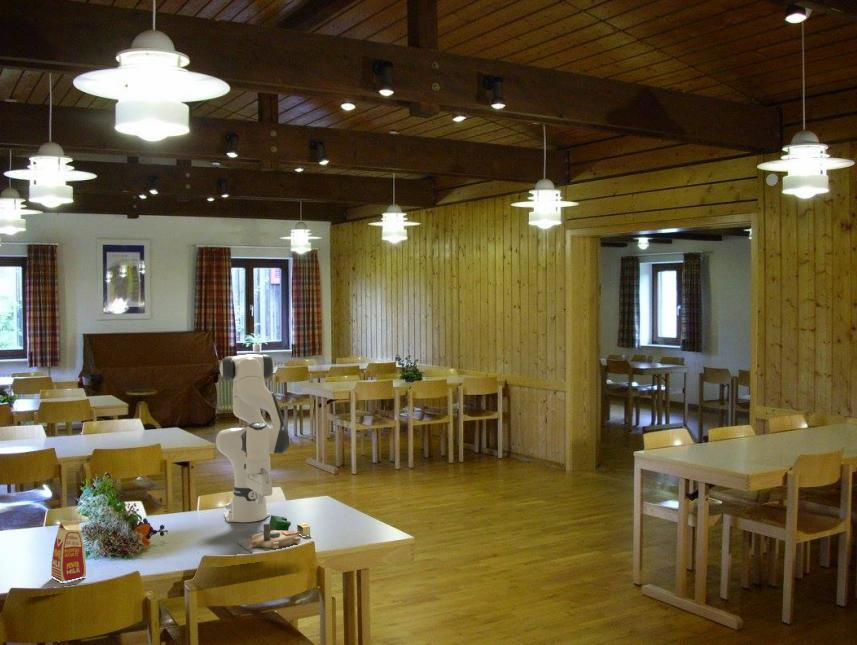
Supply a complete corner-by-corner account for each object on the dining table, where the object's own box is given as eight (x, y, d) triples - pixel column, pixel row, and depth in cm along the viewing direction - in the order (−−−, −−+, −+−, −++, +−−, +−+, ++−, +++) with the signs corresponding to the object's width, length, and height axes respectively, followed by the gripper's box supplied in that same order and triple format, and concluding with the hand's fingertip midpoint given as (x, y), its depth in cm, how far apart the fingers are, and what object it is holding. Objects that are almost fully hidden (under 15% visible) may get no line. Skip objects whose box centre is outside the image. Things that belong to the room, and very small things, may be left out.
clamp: (285, 544, 338) (292, 525, 335) (271, 542, 335) (277, 523, 333) (282, 526, 348) (288, 508, 346) (267, 524, 346) (274, 506, 343)
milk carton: (62, 584, 278) (61, 523, 278) (49, 579, 284) (48, 519, 284) (89, 577, 285) (88, 517, 285) (76, 572, 291) (75, 513, 291)
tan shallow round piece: (238, 546, 315) (237, 524, 315) (262, 533, 333) (261, 513, 333) (288, 549, 309) (287, 527, 309) (310, 536, 327) (309, 515, 327)
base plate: (237, 542, 325) (237, 540, 325) (291, 534, 336) (291, 532, 336) (256, 556, 306) (256, 553, 306) (313, 546, 317) (313, 544, 317)
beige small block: (297, 534, 337) (297, 523, 336) (304, 533, 338) (304, 522, 338) (303, 537, 331) (302, 526, 331) (310, 536, 333) (310, 525, 333)
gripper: (276, 470, 311) (277, 508, 312) (257, 461, 329) (258, 497, 329) (259, 472, 308) (260, 510, 309) (241, 463, 326) (242, 499, 326)
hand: (259, 503), depth 319 cm, fingers closed
